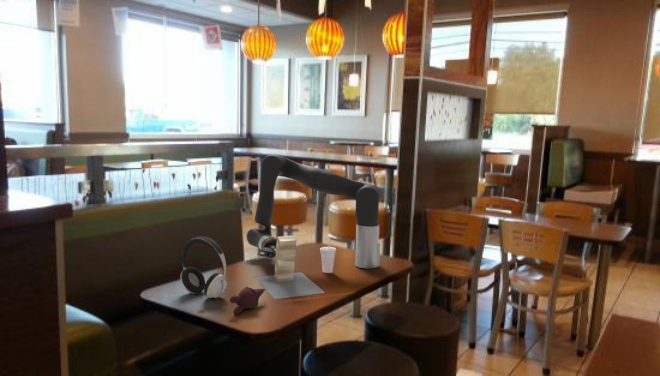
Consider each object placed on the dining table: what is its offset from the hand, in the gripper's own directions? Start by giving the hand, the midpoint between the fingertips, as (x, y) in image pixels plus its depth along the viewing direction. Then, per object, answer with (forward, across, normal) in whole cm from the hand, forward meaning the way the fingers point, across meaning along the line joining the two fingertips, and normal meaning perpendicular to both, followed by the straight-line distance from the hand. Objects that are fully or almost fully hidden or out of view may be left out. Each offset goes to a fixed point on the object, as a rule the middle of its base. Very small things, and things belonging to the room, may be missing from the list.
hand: (283, 257), depth 180 cm
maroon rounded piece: (+22, -18, +9) cm, 30 cm away
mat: (+7, 0, +9) cm, 11 cm away
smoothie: (-3, +19, +9) cm, 21 cm away
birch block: (+1, 0, +8) cm, 8 cm away
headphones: (+6, -30, +9) cm, 32 cm away
